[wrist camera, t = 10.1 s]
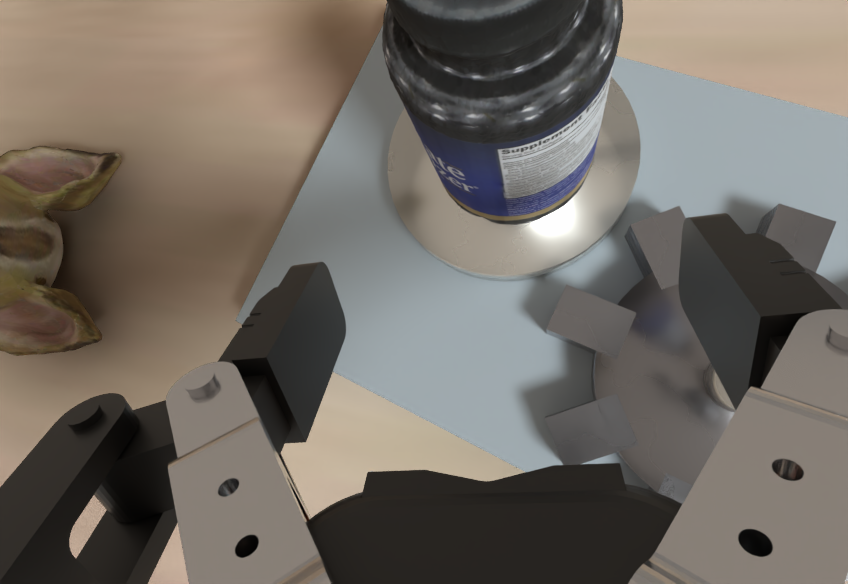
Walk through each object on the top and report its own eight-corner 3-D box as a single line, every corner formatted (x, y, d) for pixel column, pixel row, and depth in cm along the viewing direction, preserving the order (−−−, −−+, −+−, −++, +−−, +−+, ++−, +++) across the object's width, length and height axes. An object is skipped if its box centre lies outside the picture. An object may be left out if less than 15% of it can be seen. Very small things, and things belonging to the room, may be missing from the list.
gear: (991, 292, 17) (1068, 275, 15) (854, 654, 16) (912, 702, 14) (619, 170, 21) (629, 139, 18) (489, 461, 20) (480, 471, 17)
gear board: (959, 173, 20) (992, 155, 18) (792, 604, 18) (813, 622, 17) (404, 19, 26) (396, -3, 25) (253, 324, 25) (235, 320, 24)
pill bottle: (414, 134, 22) (292, -106, 11) (545, 58, 21) (542, -273, 11) (482, 257, 20) (412, 110, 10) (626, 179, 20) (719, -71, 9)
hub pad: (675, 95, 21) (682, 78, 20) (575, 321, 20) (576, 316, 19) (453, 34, 24) (448, 15, 23) (358, 229, 23) (348, 220, 22)
